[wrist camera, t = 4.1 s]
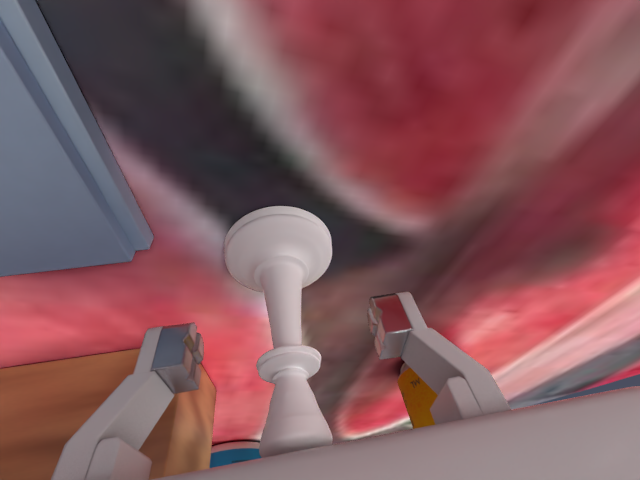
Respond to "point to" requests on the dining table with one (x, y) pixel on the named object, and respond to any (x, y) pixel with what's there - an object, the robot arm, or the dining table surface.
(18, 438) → the bread box
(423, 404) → the yellow cylinder
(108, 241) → the grey flat slab
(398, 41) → the dining table surface
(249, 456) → the beverage bottle
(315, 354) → the chess piece
